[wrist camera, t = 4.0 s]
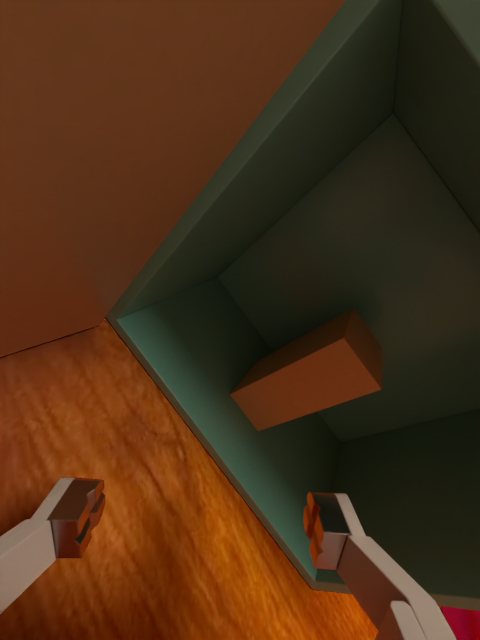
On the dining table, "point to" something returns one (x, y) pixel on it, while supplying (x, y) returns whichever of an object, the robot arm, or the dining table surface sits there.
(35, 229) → the brown cabinet door
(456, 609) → the pepper mill
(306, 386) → the block
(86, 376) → the dining table surface
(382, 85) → the green hollow box
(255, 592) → the dining table surface
